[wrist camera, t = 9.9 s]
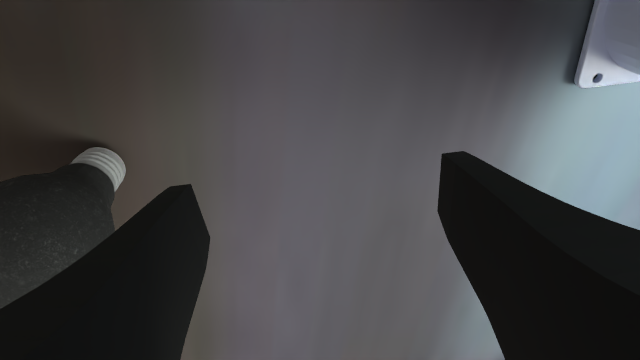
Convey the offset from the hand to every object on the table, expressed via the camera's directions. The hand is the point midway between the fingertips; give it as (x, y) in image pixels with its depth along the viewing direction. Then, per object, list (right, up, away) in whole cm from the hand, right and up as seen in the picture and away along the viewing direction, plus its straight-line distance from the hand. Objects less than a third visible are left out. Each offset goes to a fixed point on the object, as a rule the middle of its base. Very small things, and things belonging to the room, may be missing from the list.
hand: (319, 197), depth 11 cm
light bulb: (-12, +2, +11) cm, 16 cm away
